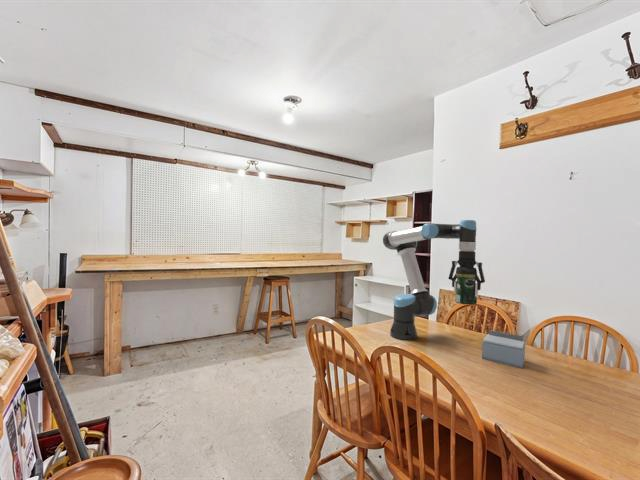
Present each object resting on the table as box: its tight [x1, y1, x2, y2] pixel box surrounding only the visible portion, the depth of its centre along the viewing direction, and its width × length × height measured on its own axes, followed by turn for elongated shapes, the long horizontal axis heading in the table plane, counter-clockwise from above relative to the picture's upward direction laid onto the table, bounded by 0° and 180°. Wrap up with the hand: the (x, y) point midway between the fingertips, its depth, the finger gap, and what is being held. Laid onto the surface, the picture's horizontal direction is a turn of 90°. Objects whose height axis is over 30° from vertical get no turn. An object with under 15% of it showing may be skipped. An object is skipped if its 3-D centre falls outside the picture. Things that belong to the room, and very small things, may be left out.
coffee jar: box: [454, 266, 478, 306], centre depth 155 cm, size 10×8×19 cm
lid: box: [482, 329, 526, 349], centre depth 145 cm, size 16×12×3 cm
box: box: [481, 340, 526, 369], centre depth 145 cm, size 16×12×8 cm
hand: (465, 295), depth 155 cm, fingers closed on coffee jar, 9 cm apart
